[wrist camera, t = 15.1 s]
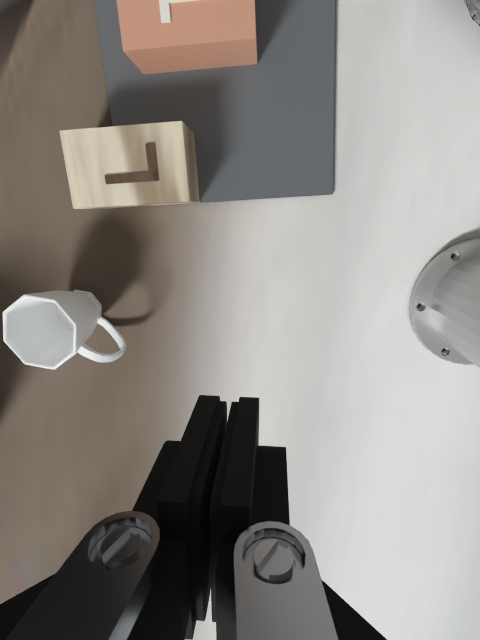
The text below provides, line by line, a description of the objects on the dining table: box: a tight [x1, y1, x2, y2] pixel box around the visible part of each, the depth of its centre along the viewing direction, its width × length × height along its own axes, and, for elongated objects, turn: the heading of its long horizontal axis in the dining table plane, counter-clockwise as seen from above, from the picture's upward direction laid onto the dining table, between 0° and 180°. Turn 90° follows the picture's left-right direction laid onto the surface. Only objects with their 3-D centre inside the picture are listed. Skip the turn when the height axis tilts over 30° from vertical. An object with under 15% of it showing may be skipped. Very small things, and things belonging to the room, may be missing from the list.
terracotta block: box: [117, 0, 257, 74], centre depth 29 cm, size 5×6×10 cm
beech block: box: [60, 121, 200, 209], centre depth 32 cm, size 5×6×10 cm
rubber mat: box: [95, 0, 335, 207], centre depth 33 cm, size 20×18×1 cm
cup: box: [3, 290, 126, 369], centre depth 36 cm, size 7×10×8 cm
